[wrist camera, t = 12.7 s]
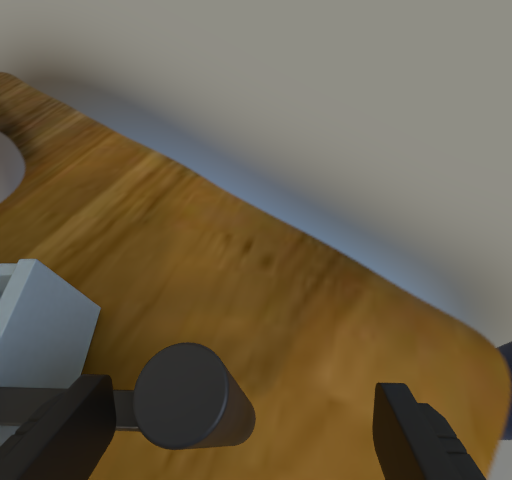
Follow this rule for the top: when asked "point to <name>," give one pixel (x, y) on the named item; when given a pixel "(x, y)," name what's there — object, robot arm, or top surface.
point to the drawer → (126, 401)
